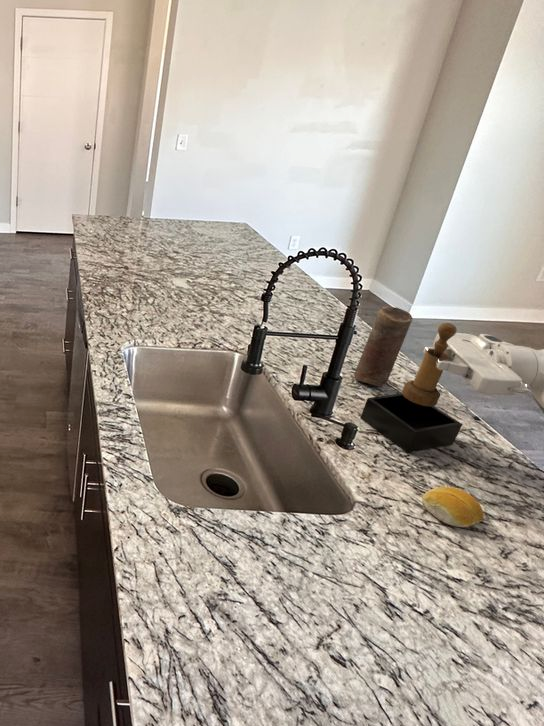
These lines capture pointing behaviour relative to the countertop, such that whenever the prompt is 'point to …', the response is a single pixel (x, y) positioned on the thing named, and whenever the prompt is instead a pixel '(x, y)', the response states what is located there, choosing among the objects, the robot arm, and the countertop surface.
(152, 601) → the countertop surface
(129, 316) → the countertop surface
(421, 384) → the mortar and pestle
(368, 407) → the black open square box
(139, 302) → the countertop surface
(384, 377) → the candle
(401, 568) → the countertop surface
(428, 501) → the bread roll
